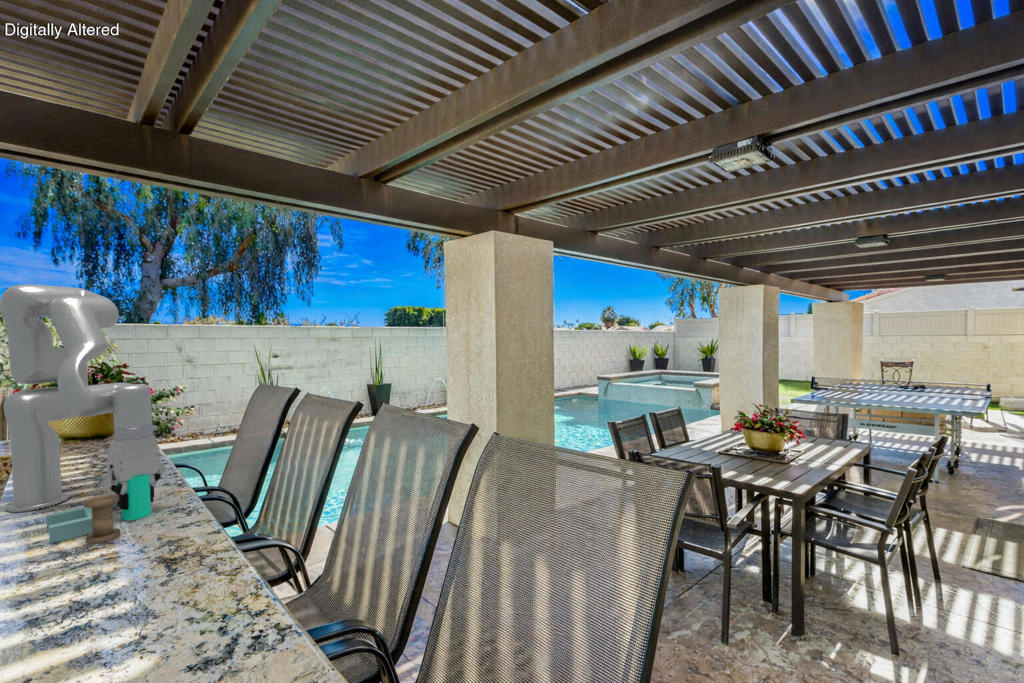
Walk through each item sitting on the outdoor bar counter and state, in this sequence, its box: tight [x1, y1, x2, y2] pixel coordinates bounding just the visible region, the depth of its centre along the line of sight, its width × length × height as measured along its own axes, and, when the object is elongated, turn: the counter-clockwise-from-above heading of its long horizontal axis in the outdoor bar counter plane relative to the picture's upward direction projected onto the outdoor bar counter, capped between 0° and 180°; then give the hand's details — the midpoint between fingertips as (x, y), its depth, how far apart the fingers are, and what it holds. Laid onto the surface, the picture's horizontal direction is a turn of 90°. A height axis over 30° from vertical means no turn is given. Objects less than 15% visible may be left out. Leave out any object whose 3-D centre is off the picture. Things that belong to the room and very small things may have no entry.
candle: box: [120, 475, 152, 521], centre depth 123 cm, size 6×6×12 cm
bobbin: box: [83, 493, 121, 545], centre depth 110 cm, size 6×6×9 cm
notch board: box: [45, 506, 93, 544], centre depth 115 cm, size 12×9×4 cm
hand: (136, 504), depth 123 cm, fingers closed on candle, 4 cm apart
